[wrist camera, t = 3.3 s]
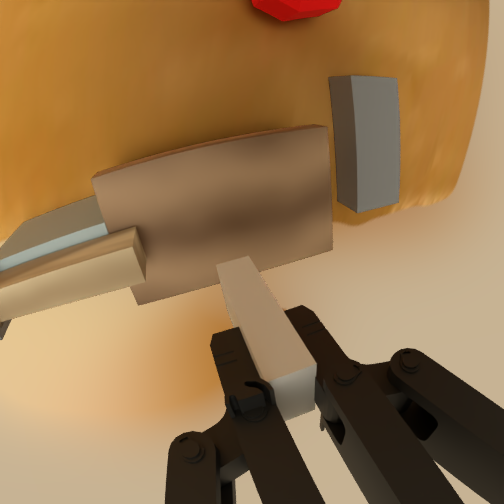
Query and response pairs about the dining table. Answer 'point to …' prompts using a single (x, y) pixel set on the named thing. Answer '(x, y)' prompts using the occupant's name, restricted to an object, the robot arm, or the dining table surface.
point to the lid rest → (366, 140)
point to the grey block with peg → (52, 235)
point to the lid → (222, 206)
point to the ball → (296, 8)
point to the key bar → (73, 274)
